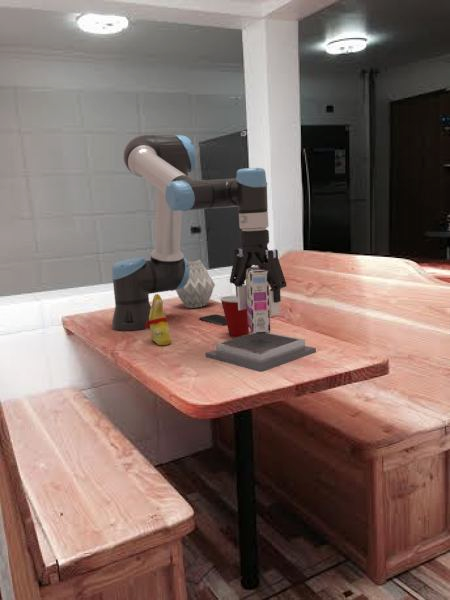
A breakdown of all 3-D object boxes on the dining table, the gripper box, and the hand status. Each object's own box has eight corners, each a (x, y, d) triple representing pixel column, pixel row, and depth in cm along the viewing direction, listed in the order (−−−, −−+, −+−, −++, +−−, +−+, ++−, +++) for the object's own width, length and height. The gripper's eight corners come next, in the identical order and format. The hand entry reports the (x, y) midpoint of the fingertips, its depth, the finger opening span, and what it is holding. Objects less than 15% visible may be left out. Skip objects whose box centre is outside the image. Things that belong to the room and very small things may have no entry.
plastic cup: (262, 336, 163) (260, 297, 161) (229, 341, 160) (226, 301, 157) (249, 328, 173) (247, 292, 171) (217, 333, 170) (215, 296, 167)
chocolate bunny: (163, 337, 169) (159, 290, 167) (174, 344, 160) (170, 295, 157) (142, 340, 167) (137, 293, 164) (152, 348, 157) (148, 298, 154)
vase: (224, 304, 216) (221, 258, 212) (194, 312, 204) (191, 264, 201) (196, 301, 227) (193, 257, 223) (167, 308, 215) (163, 262, 212)
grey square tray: (206, 356, 145) (205, 344, 145) (260, 339, 159) (259, 328, 158) (261, 371, 130) (260, 357, 129) (315, 351, 143) (315, 339, 143)
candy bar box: (271, 333, 138) (268, 270, 135) (252, 335, 137) (249, 271, 134) (265, 323, 149) (262, 265, 146) (247, 325, 148) (244, 266, 145)
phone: (215, 314, 195) (240, 319, 183) (215, 317, 195) (241, 323, 183) (197, 317, 190) (222, 324, 179) (197, 321, 191) (222, 327, 179)
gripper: (213, 230, 145) (218, 309, 149) (278, 230, 127) (282, 320, 131) (233, 228, 149) (238, 304, 153) (298, 228, 132) (301, 314, 136)
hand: (258, 311), depth 142 cm, fingers closed on candy bar box, 11 cm apart
